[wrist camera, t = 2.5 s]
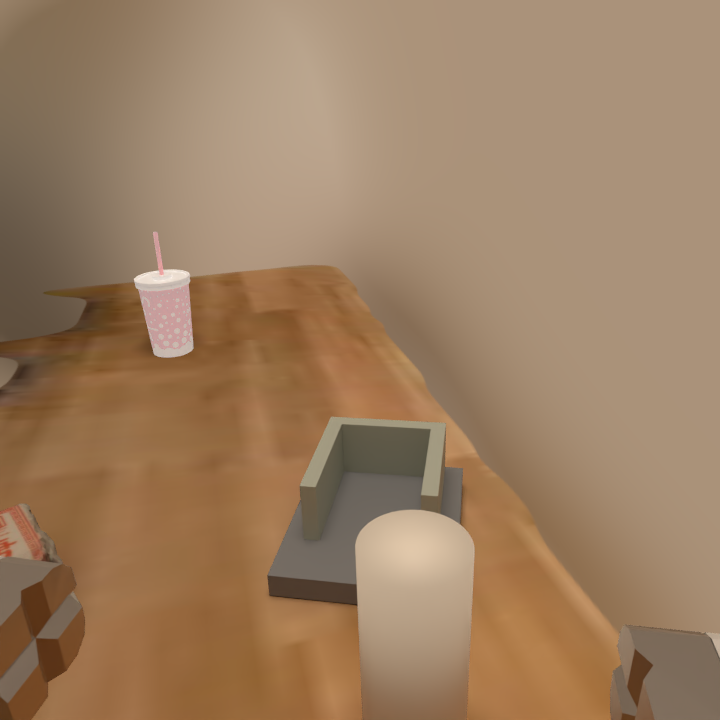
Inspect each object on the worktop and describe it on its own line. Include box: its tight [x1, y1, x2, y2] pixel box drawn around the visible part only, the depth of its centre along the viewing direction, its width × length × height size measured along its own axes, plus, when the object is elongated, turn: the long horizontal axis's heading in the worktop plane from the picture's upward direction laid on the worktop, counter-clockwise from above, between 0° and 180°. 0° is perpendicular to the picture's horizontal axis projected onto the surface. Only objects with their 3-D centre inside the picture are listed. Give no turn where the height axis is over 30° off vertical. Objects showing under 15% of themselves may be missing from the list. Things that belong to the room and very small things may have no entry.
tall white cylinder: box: [355, 510, 475, 720], centre depth 26 cm, size 4×4×12 cm
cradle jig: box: [267, 417, 463, 605], centre depth 42 cm, size 11×13×6 cm
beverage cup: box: [134, 232, 193, 357], centre depth 73 cm, size 6×6×14 cm
